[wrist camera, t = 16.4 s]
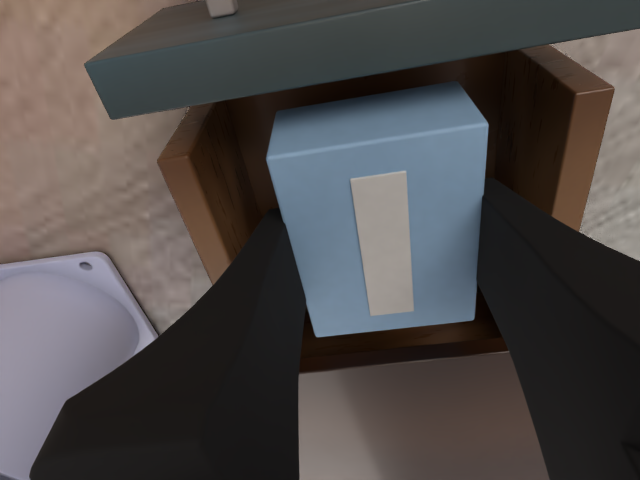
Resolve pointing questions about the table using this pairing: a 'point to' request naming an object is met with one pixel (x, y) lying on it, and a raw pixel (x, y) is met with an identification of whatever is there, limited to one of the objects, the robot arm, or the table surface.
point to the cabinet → (417, 415)
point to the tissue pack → (383, 206)
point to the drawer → (357, 81)
